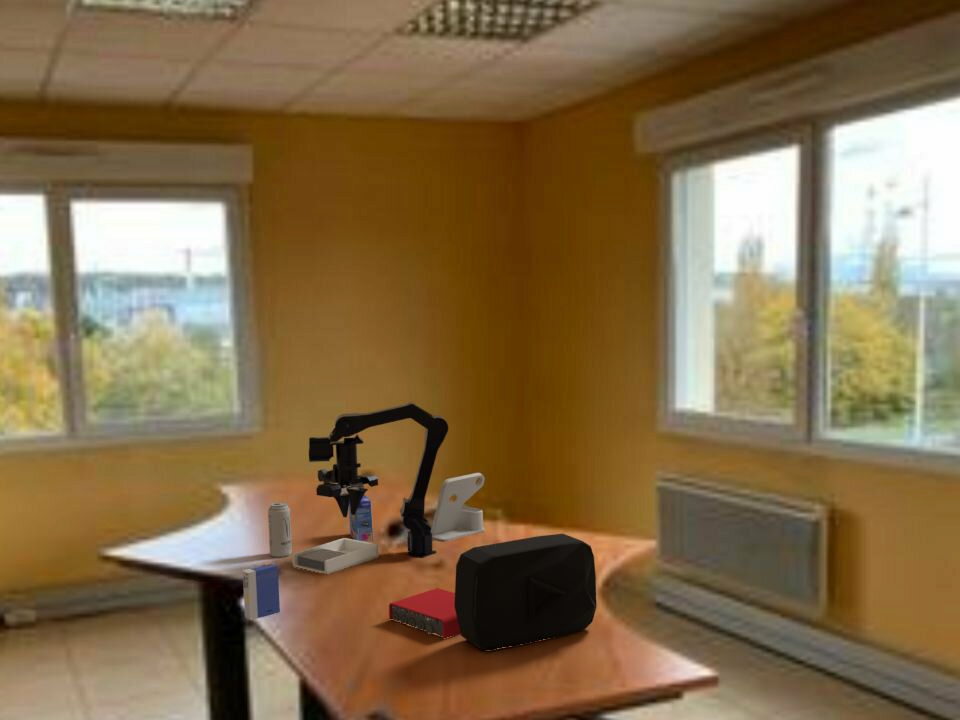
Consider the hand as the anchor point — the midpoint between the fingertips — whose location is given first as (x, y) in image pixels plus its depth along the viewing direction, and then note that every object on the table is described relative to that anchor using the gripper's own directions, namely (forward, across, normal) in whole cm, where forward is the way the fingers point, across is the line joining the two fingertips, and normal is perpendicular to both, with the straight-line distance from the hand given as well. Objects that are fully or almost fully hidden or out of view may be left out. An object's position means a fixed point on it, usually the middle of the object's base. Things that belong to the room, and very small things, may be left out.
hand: (349, 516), depth 272 cm
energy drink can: (+12, +9, -18) cm, 24 cm away
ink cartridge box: (+12, -18, -14) cm, 26 cm away
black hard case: (+12, +23, +76) cm, 81 cm away
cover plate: (+11, +10, 0) cm, 15 cm away
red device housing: (+13, +26, +54) cm, 62 cm away
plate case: (+12, +6, 0) cm, 13 cm away
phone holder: (+12, -37, +7) cm, 40 cm away
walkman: (+12, +46, +17) cm, 51 cm away
